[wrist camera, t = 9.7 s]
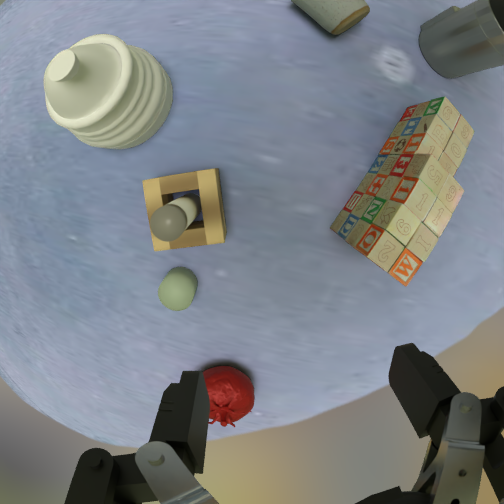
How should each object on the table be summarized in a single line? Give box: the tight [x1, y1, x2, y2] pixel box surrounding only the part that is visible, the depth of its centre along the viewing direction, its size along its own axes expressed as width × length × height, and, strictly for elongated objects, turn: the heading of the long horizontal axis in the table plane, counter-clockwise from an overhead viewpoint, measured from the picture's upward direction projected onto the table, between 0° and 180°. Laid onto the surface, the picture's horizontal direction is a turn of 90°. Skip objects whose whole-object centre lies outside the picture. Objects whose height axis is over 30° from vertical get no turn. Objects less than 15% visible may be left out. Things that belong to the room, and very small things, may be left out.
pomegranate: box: [203, 366, 254, 427], centre depth 38 cm, size 10×10×9 cm
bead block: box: [143, 168, 227, 251], centre depth 32 cm, size 8×8×5 cm
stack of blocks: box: [330, 97, 474, 286], centre depth 28 cm, size 21×6×12 cm, turn 147°
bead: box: [158, 267, 197, 311], centre depth 36 cm, size 4×4×4 cm
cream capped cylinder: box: [150, 193, 202, 242], centre depth 29 cm, size 3×3×12 cm
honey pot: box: [44, 34, 173, 149], centre depth 22 cm, size 13×13×18 cm
